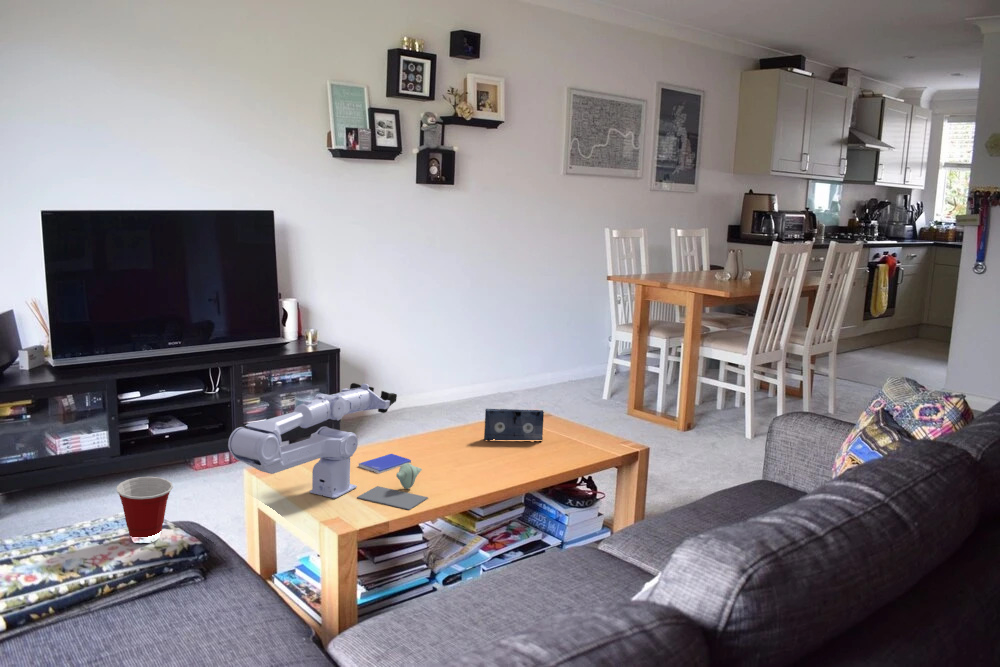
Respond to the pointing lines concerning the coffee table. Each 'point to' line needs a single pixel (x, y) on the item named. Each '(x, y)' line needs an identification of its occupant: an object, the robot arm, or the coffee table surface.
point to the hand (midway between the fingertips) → (383, 394)
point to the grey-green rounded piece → (408, 475)
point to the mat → (393, 497)
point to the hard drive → (384, 463)
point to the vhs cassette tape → (513, 424)
